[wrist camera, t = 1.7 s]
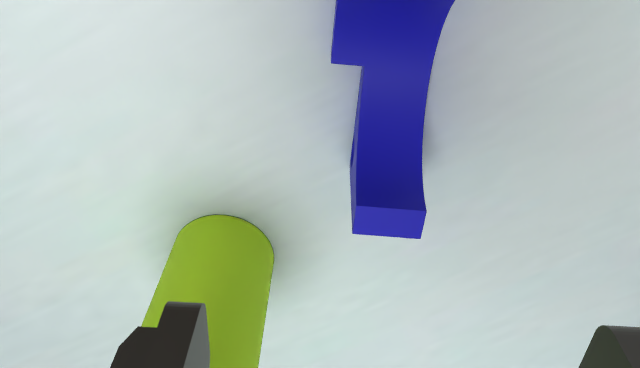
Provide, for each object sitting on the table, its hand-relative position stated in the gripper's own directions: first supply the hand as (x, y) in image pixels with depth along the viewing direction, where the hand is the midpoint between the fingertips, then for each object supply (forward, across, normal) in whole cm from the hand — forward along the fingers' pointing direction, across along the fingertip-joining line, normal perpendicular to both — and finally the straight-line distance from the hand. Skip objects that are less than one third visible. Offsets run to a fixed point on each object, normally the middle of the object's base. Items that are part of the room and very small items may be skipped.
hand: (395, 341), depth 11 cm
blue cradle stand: (+18, -1, 0) cm, 18 cm away
